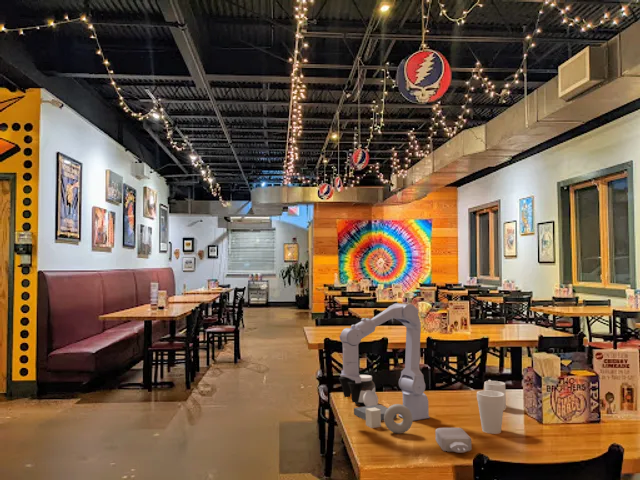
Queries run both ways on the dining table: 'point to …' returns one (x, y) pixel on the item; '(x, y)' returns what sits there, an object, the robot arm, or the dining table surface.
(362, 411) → the tile
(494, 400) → the foam cup
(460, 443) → the charger
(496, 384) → the cup
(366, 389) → the spread jar
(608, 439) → the dining table surface
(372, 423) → the block
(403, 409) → the donut
